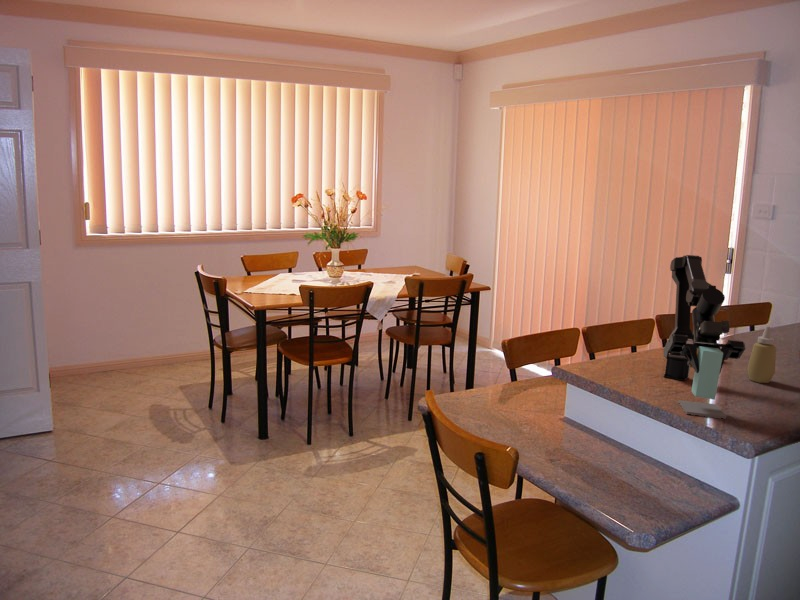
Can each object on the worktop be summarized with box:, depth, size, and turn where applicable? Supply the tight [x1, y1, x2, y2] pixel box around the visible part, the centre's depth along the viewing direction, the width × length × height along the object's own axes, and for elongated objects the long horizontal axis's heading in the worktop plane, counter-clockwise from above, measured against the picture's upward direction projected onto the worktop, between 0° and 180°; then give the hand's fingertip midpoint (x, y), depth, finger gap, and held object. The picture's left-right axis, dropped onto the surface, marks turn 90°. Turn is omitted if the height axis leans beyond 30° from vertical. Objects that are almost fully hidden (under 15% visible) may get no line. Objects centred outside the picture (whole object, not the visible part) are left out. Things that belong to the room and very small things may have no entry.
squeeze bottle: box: [747, 326, 777, 384], centre depth 216 cm, size 8×8×18 cm
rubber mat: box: [678, 399, 727, 420], centre depth 184 cm, size 10×10×1 cm
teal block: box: [691, 346, 723, 400], centre depth 182 cm, size 5×5×13 cm
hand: (708, 373), depth 180 cm, fingers closed on teal block, 5 cm apart
